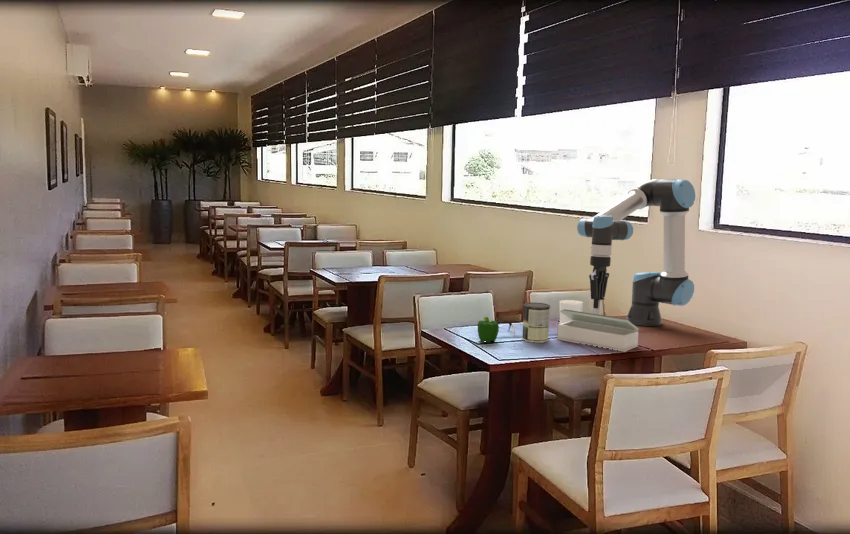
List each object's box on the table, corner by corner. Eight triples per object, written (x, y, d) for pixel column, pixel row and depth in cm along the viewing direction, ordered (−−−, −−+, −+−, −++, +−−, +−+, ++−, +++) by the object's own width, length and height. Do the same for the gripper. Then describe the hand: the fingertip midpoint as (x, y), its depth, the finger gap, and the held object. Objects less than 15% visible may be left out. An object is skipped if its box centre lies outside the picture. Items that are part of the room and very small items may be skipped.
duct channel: (571, 334, 281) (572, 320, 280) (637, 346, 263) (638, 331, 263) (557, 339, 272) (558, 324, 271) (624, 351, 254) (625, 336, 253)
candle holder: (574, 326, 296) (575, 299, 295) (586, 331, 287) (587, 303, 286) (553, 327, 293) (555, 300, 292) (565, 332, 284) (566, 304, 283)
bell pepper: (488, 338, 271) (489, 313, 270) (502, 342, 264) (503, 317, 263) (471, 340, 267) (472, 315, 265) (485, 344, 260) (486, 319, 259)
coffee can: (516, 339, 270) (518, 304, 268) (532, 335, 277) (533, 301, 276) (537, 344, 263) (539, 308, 261) (553, 340, 270) (555, 305, 268)
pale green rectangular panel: (572, 320, 280) (573, 317, 280) (638, 330, 263) (639, 327, 263) (560, 311, 271) (560, 308, 271) (627, 322, 254) (628, 319, 254)
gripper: (599, 254, 270) (595, 313, 273) (584, 255, 260) (579, 316, 263) (617, 255, 265) (612, 315, 268) (602, 257, 255) (598, 319, 258)
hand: (596, 316), depth 265 cm, fingers closed
